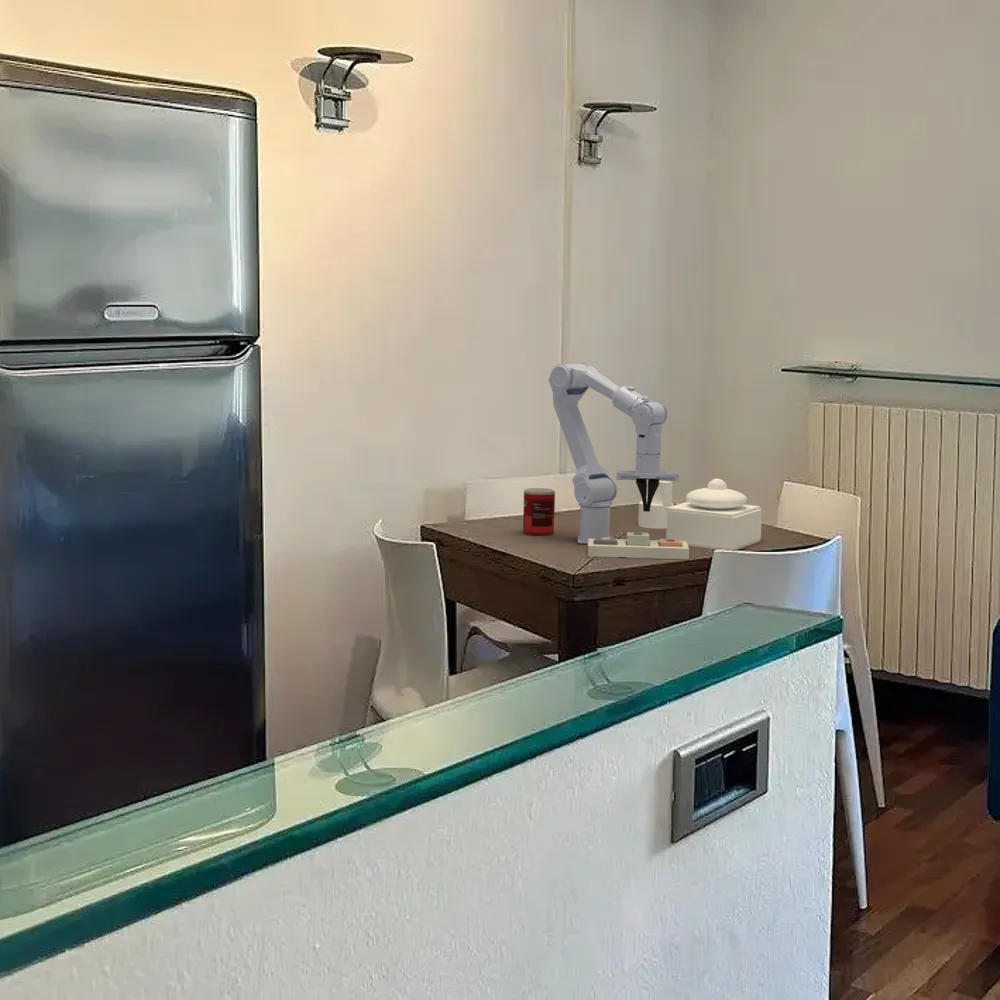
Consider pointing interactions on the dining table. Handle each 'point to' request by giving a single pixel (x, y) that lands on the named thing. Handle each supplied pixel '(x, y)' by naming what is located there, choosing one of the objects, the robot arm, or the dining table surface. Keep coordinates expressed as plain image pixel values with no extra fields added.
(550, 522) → the canned food
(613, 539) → the key charcoal
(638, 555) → the keypad housing
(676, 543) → the key terracotta
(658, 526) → the cylinder with rectangular tab
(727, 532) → the white block with dome
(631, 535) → the key sage
